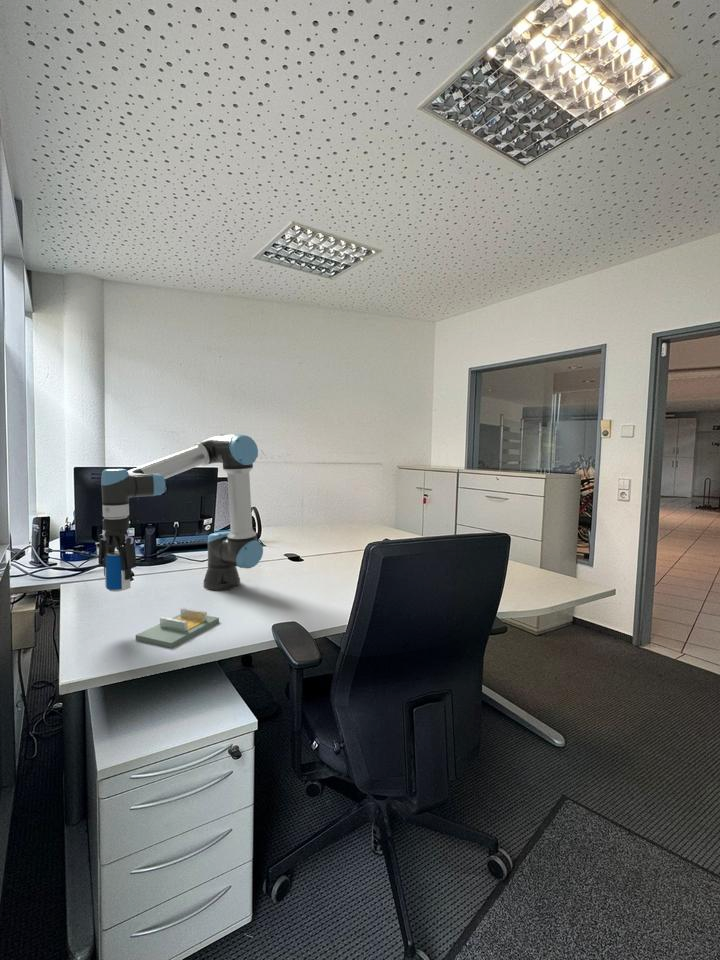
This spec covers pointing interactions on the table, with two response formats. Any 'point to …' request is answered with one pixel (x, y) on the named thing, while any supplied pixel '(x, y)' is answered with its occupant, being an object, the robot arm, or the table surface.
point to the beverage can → (113, 572)
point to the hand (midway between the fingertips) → (117, 587)
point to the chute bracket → (184, 620)
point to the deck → (173, 633)
